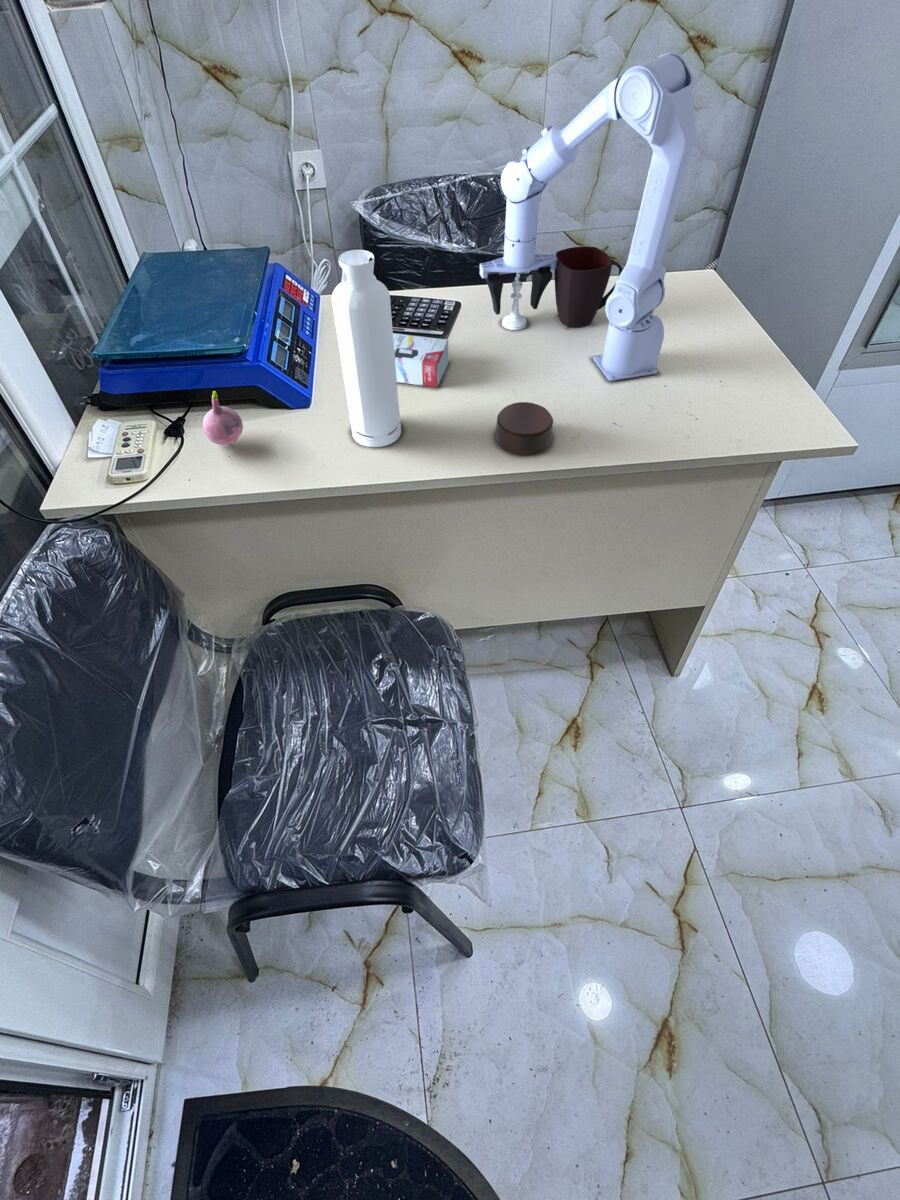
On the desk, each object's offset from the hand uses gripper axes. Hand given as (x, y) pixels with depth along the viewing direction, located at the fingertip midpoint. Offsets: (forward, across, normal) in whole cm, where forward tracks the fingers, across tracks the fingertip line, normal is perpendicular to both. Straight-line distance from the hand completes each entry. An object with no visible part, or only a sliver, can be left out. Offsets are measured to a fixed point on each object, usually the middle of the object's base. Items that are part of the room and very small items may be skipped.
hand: (515, 309), depth 126 cm
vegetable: (+3, +57, +24) cm, 62 cm away
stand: (+3, +10, +35) cm, 37 cm away
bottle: (+3, +33, +27) cm, 43 cm away
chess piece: (+3, 0, 0) cm, 3 cm away
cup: (+3, -14, +2) cm, 14 cm away
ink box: (+1, +18, +14) cm, 23 cm away
